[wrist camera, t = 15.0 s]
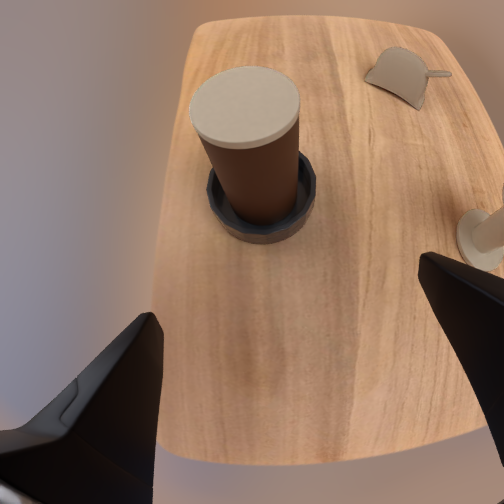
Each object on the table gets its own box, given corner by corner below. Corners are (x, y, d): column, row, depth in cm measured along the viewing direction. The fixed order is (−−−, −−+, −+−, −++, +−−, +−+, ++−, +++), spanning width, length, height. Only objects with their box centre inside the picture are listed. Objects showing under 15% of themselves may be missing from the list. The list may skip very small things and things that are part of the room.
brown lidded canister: (311, 191, 24) (323, 94, 13) (264, 240, 23) (243, 163, 12) (261, 153, 25) (243, 54, 14) (214, 197, 24) (167, 110, 14)
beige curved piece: (376, 65, 27) (384, 31, 22) (439, 100, 25) (454, 68, 20) (363, 80, 27) (370, 44, 22) (430, 119, 25) (447, 85, 20)
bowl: (328, 227, 23) (332, 215, 21) (227, 257, 23) (220, 248, 21) (294, 145, 25) (294, 128, 23) (205, 171, 26) (198, 156, 23)
